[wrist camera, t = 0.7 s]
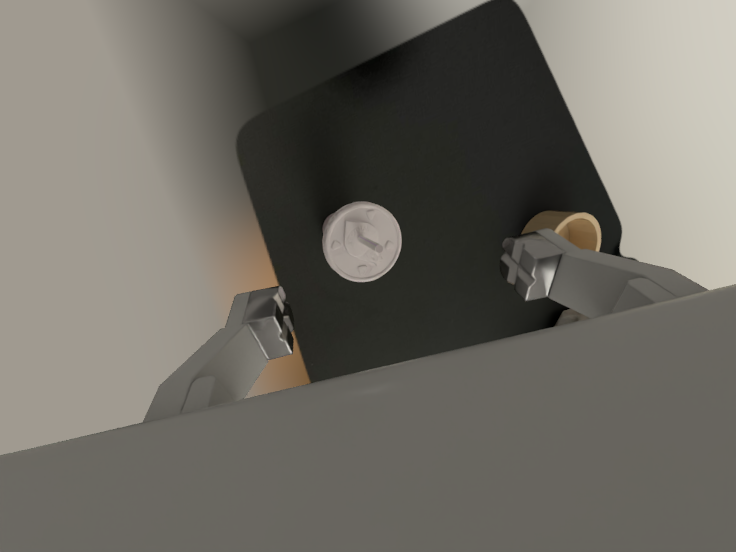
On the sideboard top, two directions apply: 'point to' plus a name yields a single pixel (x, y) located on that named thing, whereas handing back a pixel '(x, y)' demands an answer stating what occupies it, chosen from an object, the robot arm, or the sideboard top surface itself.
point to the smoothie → (361, 241)
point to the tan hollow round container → (569, 227)
